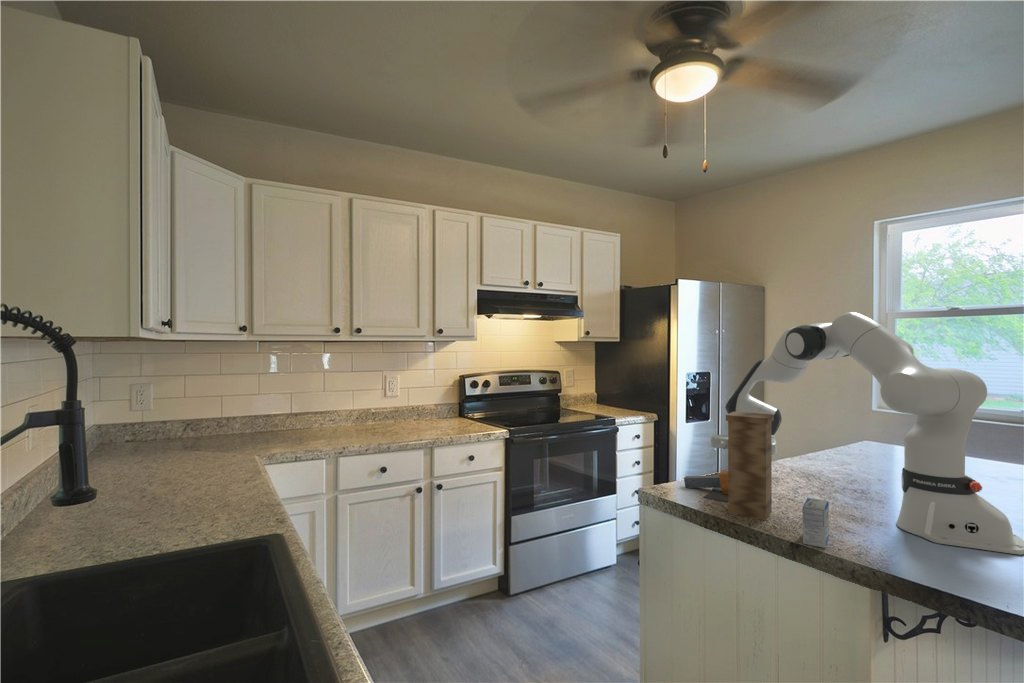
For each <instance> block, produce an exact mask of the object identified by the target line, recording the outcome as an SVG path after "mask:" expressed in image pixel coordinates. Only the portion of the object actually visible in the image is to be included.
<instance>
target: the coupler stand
mask: <svg viewBox="0 0 1024 683" xmlns="http://www.w3.org/2000/svg"><path fill="white" fill-rule="evenodd" d="M773 420H774V415H773V414H760V413H747V412H732V413H729V414H728V413H727V414H726V415H725V422H727V424H728V426H727V427H728V428H727V432H728V433H727V435H728V449H727V450H728V451H727V452H728V453H727V464H728V466H727V468H728V469H727V470H728V502H727V505H728V507H727V511H728V512H727V513H728V514H731V515H736V516H742V517H746V518H751V519H756V520H760V521H761V520H762V521H767V520H768V518H769V517H770V516H771V514H772V512H773V511H772V510H773V509H772V506H773V504H772V503H773V500H772V498H773V497H772V493H773V492H772V491H773V489H772V486H773V485H772V482H773V481H772V475H773V474H772V458H773V457H772V456H773V455H772V444H771V422H772V421H773ZM770 513H771V514H770Z"/></svg>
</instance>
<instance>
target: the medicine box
mask: <svg viewBox="0 0 1024 683" xmlns="http://www.w3.org/2000/svg"><path fill="white" fill-rule="evenodd" d="M829 510H830V509H829V501H828V500H825V499H820V498H813V497H811V498H809V497H807V498H806V500H805V502H804V504H803V506H802V510H801V511H802V512H801V513H802V543H803V544H804V545H807V546H813V547H817V548H821V549H826V548H827V545H828V541H829V536H830V533H829V532H830V528H829V527H830V524H829V522H830V521H829V519H830V515H829V514H830V512H829Z"/></svg>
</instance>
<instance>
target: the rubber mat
mask: <svg viewBox="0 0 1024 683" xmlns="http://www.w3.org/2000/svg"><path fill="white" fill-rule="evenodd" d="M703 499H707V500H712V499H713V501H718V500H719V502H723V501H724V503H728V494H722V490H721V488H712V489H711V490H709V492H707V493H706V494H705V495H704V496H703Z"/></svg>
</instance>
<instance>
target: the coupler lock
mask: <svg viewBox="0 0 1024 683" xmlns="http://www.w3.org/2000/svg"><path fill="white" fill-rule="evenodd" d="M683 481H684V487H685V489H704V488H705V489H711V488H712V489H713V488H721V490H722V494H728V469H724V470H723V469H722V470H721V471H720V472H719V473H718V475H717V474H716V475H687V476H685V477H684V478H683Z"/></svg>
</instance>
